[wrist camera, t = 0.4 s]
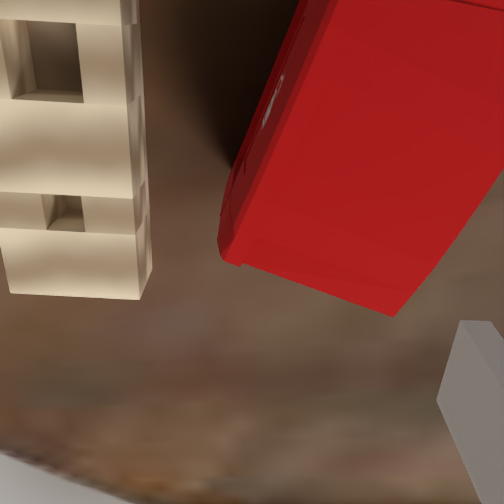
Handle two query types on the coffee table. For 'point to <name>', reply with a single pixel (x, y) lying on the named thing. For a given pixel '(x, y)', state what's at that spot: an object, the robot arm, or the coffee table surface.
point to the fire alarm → (369, 146)
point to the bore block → (73, 149)
